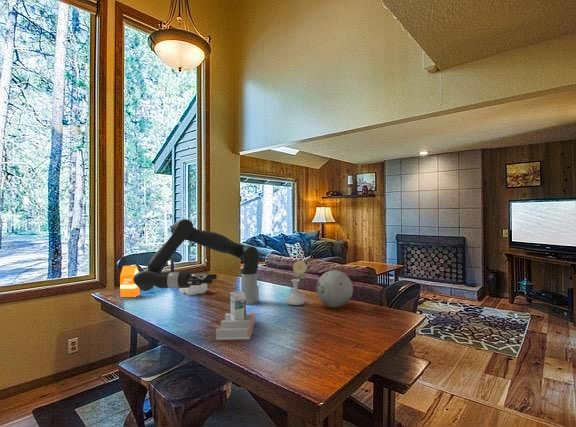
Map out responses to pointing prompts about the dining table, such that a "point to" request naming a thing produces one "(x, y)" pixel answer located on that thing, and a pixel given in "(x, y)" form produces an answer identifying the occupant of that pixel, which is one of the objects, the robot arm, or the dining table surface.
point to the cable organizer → (194, 289)
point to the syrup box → (238, 305)
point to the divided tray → (235, 328)
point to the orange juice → (128, 282)
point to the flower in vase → (296, 297)
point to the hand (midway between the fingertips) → (214, 278)
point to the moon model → (334, 288)
